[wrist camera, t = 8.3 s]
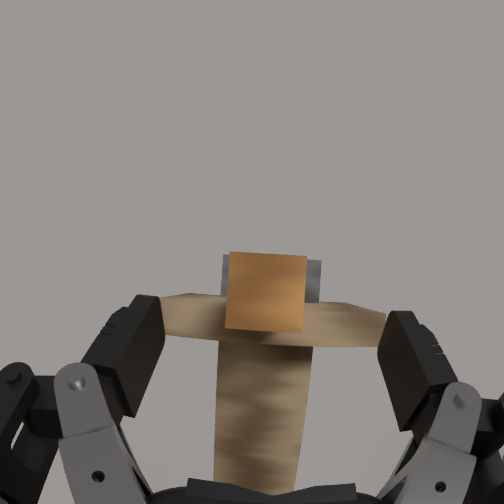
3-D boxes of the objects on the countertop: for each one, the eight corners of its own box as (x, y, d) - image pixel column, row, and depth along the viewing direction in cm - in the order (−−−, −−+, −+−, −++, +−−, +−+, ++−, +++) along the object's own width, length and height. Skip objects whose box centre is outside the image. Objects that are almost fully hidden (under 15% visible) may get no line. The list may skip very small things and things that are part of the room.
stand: (303, 541, 24) (344, 302, 27) (311, 596, 14) (386, 313, 17) (189, 533, 25) (189, 292, 28) (171, 587, 15) (150, 299, 18)
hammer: (313, 300, 28) (315, 262, 28) (381, 334, 10) (386, 231, 10) (226, 295, 29) (229, 257, 29) (146, 319, 10) (154, 218, 10)
